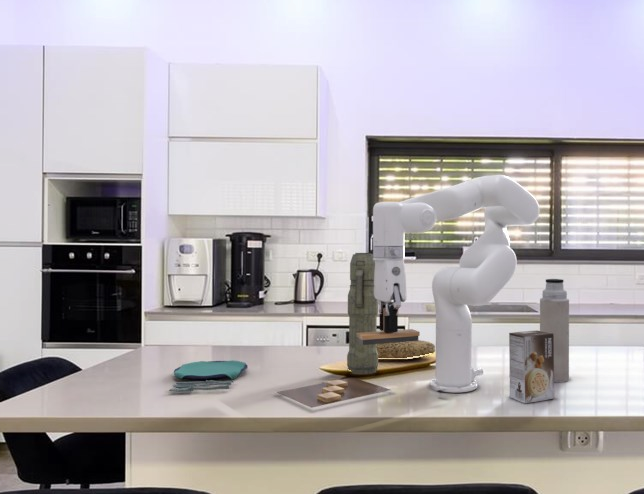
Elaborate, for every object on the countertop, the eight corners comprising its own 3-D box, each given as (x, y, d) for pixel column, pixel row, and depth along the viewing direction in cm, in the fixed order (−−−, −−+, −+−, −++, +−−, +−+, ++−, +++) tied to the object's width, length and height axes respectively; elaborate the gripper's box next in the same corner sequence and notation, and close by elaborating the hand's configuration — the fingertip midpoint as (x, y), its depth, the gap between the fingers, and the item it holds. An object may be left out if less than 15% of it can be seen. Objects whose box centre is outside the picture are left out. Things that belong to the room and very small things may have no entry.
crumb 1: (339, 383, 146) (339, 379, 146) (347, 386, 143) (347, 382, 143) (325, 385, 143) (326, 381, 143) (334, 388, 140) (334, 384, 140)
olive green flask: (344, 379, 154) (345, 253, 154) (349, 369, 166) (350, 252, 166) (376, 379, 154) (377, 253, 155) (379, 369, 166) (379, 252, 166)
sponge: (371, 367, 175) (433, 355, 172) (367, 342, 176) (428, 330, 174) (380, 365, 187) (437, 355, 185) (376, 342, 189) (433, 331, 187)
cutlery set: (252, 366, 170) (252, 358, 170) (236, 392, 140) (236, 383, 140) (183, 368, 167) (183, 360, 167) (152, 395, 137) (152, 386, 137)
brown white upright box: (537, 392, 141) (537, 329, 141) (554, 399, 135) (555, 333, 136) (508, 397, 137) (508, 332, 137) (524, 404, 131) (525, 336, 131)
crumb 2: (335, 389, 140) (335, 385, 140) (344, 392, 137) (344, 388, 137) (321, 392, 137) (321, 388, 137) (330, 395, 134) (330, 391, 134)
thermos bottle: (545, 373, 162) (545, 277, 162) (572, 377, 157) (572, 278, 157) (535, 379, 155) (535, 279, 155) (563, 383, 151) (564, 280, 151)
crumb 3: (331, 395, 134) (331, 391, 134) (340, 399, 131) (341, 395, 131) (317, 398, 131) (317, 394, 131) (326, 402, 128) (326, 398, 128)
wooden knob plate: (356, 342, 131) (356, 308, 131) (412, 337, 137) (412, 305, 137) (362, 345, 127) (362, 310, 127) (419, 340, 133) (419, 307, 133)
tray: (352, 380, 153) (352, 377, 153) (391, 393, 140) (391, 389, 140) (276, 395, 137) (276, 391, 137) (311, 411, 125) (311, 407, 125)
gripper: (416, 254, 126) (416, 335, 126) (390, 253, 141) (390, 325, 141) (386, 254, 123) (385, 337, 123) (362, 253, 138) (362, 327, 138)
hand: (388, 330), depth 132 cm, fingers closed on wooden knob plate, 2 cm apart
